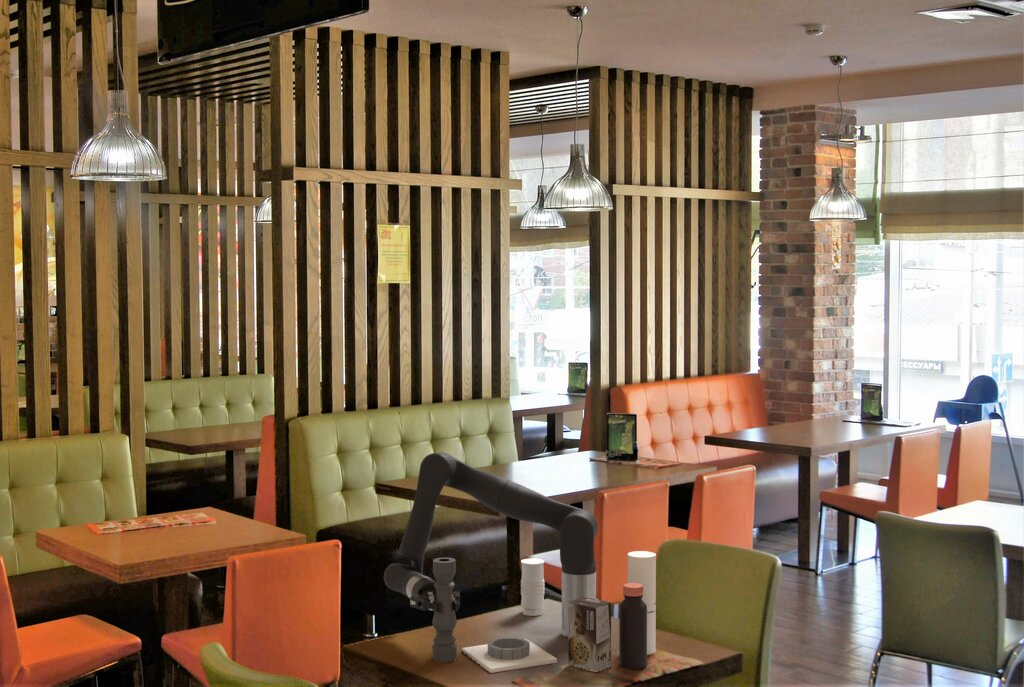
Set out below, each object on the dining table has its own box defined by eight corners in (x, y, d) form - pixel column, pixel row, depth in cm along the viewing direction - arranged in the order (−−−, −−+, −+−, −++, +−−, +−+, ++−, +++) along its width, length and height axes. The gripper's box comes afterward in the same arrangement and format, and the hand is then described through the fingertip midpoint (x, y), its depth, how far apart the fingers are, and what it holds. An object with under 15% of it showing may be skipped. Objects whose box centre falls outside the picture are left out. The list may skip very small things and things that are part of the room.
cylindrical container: (659, 648, 293) (659, 552, 292) (650, 656, 286) (650, 558, 285) (632, 644, 296) (633, 550, 295) (623, 652, 289) (623, 555, 288)
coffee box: (612, 667, 278) (612, 602, 278) (596, 673, 273) (596, 607, 273) (583, 659, 284) (583, 595, 284) (567, 665, 280) (567, 601, 279)
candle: (549, 612, 326) (549, 561, 325) (533, 617, 321) (533, 565, 320) (532, 608, 331) (532, 557, 330) (515, 613, 326) (515, 561, 325)
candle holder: (453, 663, 282) (453, 563, 280) (429, 661, 283) (428, 562, 282) (459, 655, 288) (459, 557, 286) (436, 653, 289) (435, 556, 288)
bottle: (629, 671, 275) (629, 590, 274) (613, 663, 281) (614, 583, 280) (652, 667, 278) (652, 586, 277) (636, 659, 284) (637, 580, 283)
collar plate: (525, 642, 298) (525, 629, 298) (556, 662, 282) (556, 648, 282) (462, 651, 290) (462, 638, 290) (490, 672, 274) (490, 658, 274)
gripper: (398, 580, 294) (422, 596, 279) (449, 574, 300) (475, 590, 285) (398, 609, 295) (422, 626, 279) (449, 602, 301) (475, 619, 285)
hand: (448, 608), depth 282 cm, fingers closed on candle holder, 3 cm apart
